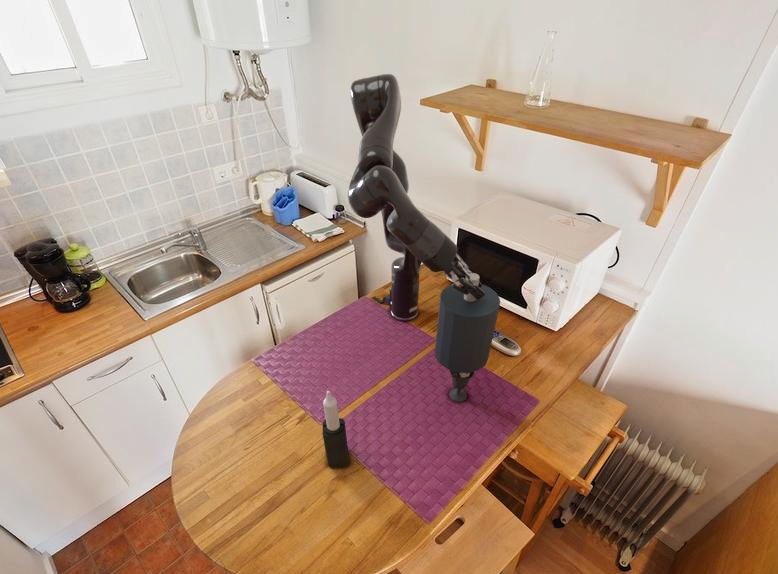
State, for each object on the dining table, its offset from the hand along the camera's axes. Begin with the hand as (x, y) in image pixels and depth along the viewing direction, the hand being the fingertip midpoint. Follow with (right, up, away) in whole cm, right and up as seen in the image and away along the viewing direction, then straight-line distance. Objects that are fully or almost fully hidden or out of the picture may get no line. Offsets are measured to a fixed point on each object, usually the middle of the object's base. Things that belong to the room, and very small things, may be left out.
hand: (479, 292), depth 98 cm
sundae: (-1, -27, +24) cm, 36 cm away
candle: (-33, -41, +9) cm, 53 cm away
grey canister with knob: (-2, -15, +13) cm, 20 cm away
